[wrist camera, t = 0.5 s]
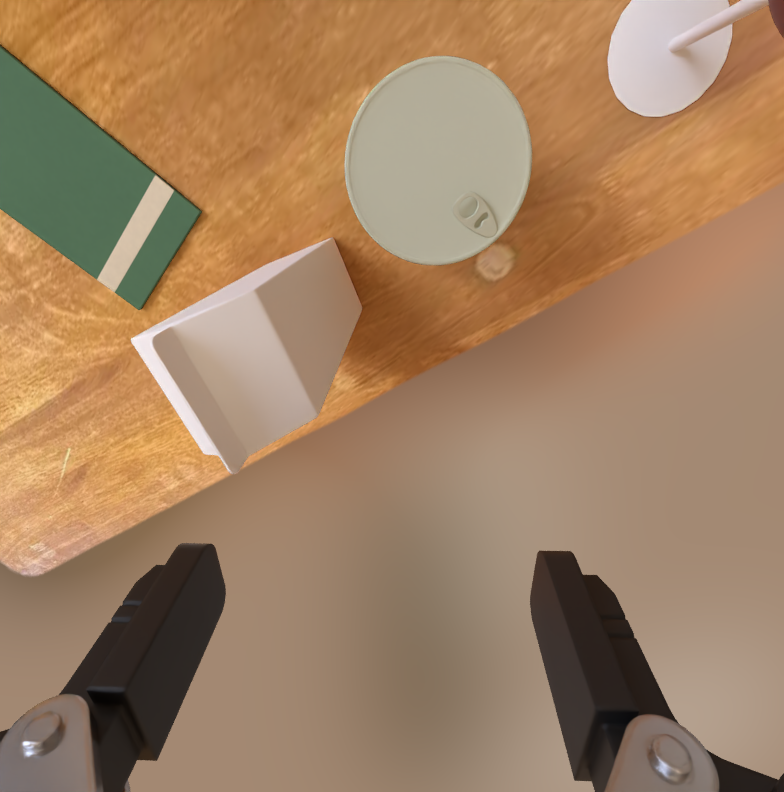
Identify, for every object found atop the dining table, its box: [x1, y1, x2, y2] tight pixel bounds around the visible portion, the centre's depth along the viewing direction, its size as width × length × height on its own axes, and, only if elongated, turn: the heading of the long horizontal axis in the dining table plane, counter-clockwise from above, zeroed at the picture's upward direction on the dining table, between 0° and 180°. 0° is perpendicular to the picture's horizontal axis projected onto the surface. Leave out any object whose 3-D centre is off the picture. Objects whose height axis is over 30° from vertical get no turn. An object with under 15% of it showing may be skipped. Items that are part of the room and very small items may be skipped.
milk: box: [131, 237, 362, 474], centre depth 26 cm, size 6×6×22 cm
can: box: [345, 56, 532, 265], centre depth 27 cm, size 9×9×12 cm
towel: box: [0, 45, 202, 310], centre depth 33 cm, size 10×20×1 cm, turn 49°
